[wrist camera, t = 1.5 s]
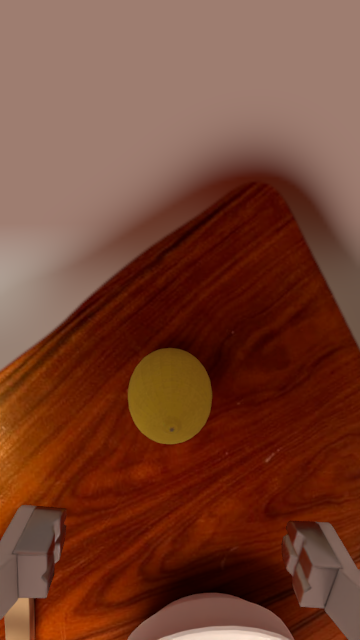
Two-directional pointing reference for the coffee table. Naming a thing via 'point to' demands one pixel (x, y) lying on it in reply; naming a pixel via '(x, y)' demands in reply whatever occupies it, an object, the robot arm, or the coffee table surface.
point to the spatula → (20, 620)
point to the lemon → (169, 396)
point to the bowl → (212, 620)
